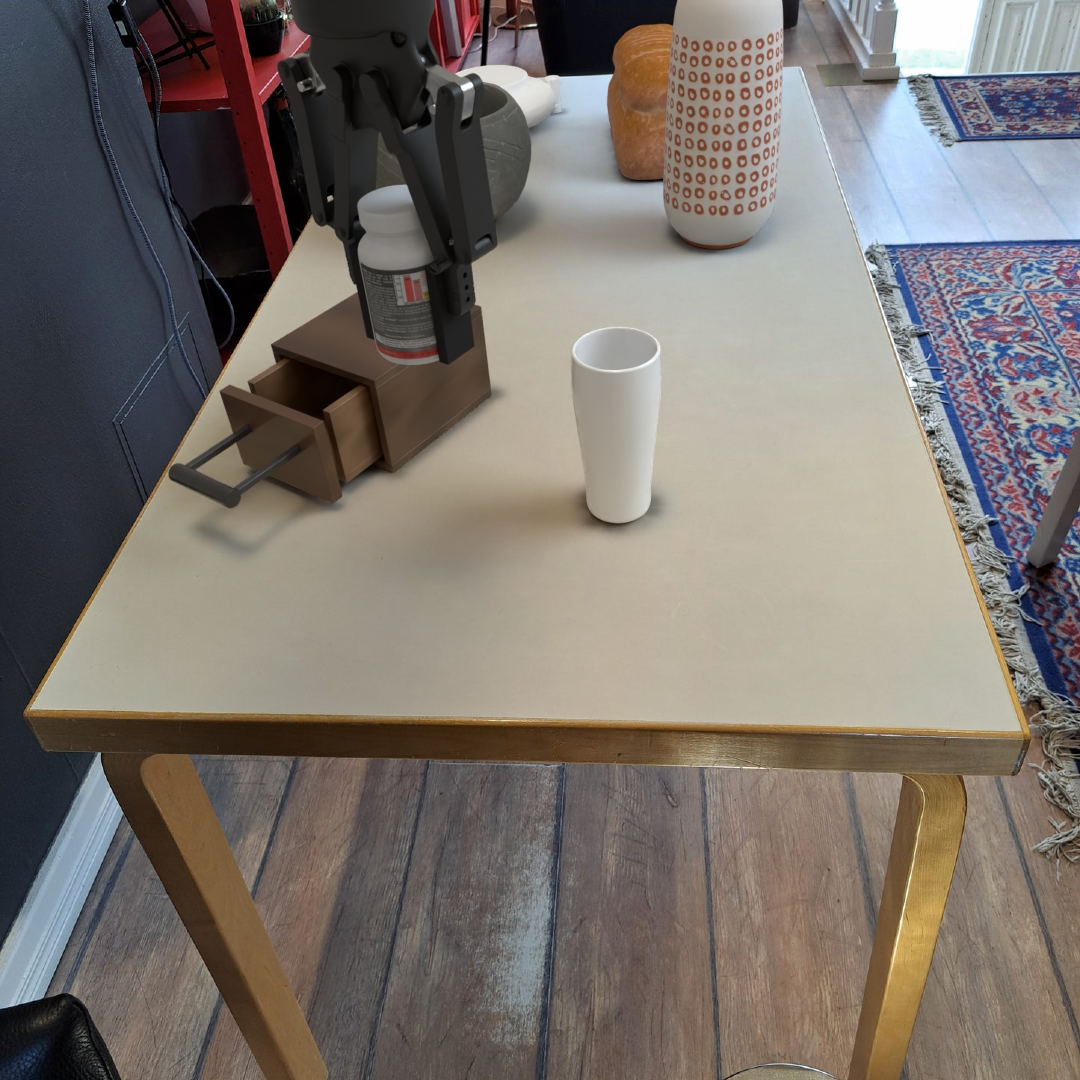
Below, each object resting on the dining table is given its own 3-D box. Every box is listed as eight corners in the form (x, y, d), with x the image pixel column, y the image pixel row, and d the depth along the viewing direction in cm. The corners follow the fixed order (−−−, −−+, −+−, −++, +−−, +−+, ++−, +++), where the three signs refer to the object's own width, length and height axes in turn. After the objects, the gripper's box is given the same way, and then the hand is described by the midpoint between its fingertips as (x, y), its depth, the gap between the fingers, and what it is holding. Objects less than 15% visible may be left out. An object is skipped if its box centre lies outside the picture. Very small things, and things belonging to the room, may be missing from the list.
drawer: (260, 560, 79) (234, 483, 73) (169, 514, 84) (139, 439, 79) (434, 425, 91) (422, 352, 86) (346, 393, 97) (329, 322, 92)
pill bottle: (474, 355, 64) (455, 206, 57) (389, 377, 62) (360, 226, 56) (447, 317, 68) (427, 174, 61) (367, 337, 67) (338, 193, 60)
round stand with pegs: (443, 161, 146) (436, 112, 141) (400, 116, 163) (393, 71, 159) (590, 131, 152) (589, 82, 147) (534, 90, 169) (531, 45, 164)
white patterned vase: (751, 265, 114) (771, -7, 95) (645, 248, 119) (645, -12, 101) (787, 220, 122) (812, -38, 104) (686, 206, 128) (693, -41, 109)
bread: (691, 116, 154) (694, 9, 144) (714, 179, 134) (720, 59, 124) (605, 122, 154) (602, 16, 144) (615, 186, 134) (613, 67, 124)
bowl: (520, 257, 119) (509, 131, 110) (356, 256, 123) (331, 133, 113) (548, 190, 135) (541, 74, 125) (402, 190, 139) (384, 77, 129)
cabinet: (393, 472, 88) (374, 380, 82) (295, 433, 94) (270, 344, 87) (491, 395, 96) (481, 306, 90) (396, 363, 102) (380, 277, 96)
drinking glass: (615, 543, 78) (612, 382, 69) (561, 505, 83) (551, 348, 73) (676, 506, 81) (681, 347, 72) (621, 471, 86) (618, 316, 76)
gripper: (544, -68, 48) (568, 351, 63) (282, -83, 57) (358, 287, 72) (444, -35, 43) (496, 408, 58) (177, -56, 52) (282, 332, 67)
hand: (420, 341), depth 65 cm, fingers closed on pill bottle, 6 cm apart
